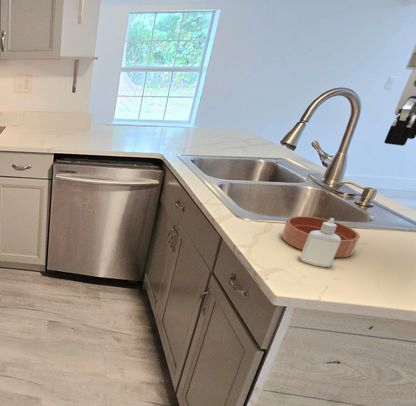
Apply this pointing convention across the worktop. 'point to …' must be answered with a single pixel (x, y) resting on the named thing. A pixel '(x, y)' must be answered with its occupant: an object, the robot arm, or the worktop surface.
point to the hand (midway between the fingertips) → (399, 140)
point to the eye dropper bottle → (321, 245)
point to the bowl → (303, 225)
